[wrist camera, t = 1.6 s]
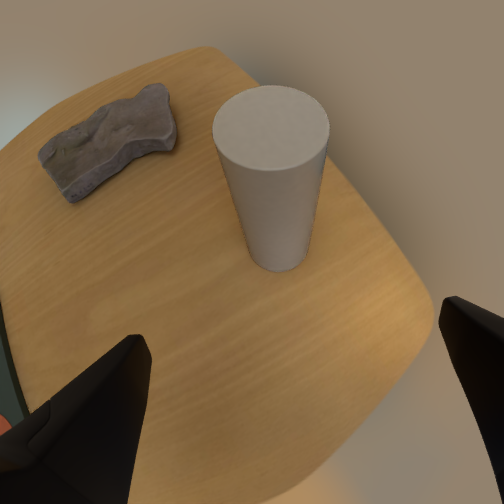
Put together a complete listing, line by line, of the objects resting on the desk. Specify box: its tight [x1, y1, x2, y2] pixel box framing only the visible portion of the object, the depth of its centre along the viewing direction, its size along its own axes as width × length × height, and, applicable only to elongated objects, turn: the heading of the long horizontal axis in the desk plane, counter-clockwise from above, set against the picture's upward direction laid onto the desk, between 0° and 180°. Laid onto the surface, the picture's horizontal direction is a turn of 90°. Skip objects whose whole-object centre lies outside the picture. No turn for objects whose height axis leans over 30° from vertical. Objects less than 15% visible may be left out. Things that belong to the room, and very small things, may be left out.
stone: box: [38, 83, 177, 203], centre depth 27 cm, size 15×10×4 cm, turn 114°
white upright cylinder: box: [212, 85, 330, 272], centre depth 18 cm, size 5×5×13 cm
